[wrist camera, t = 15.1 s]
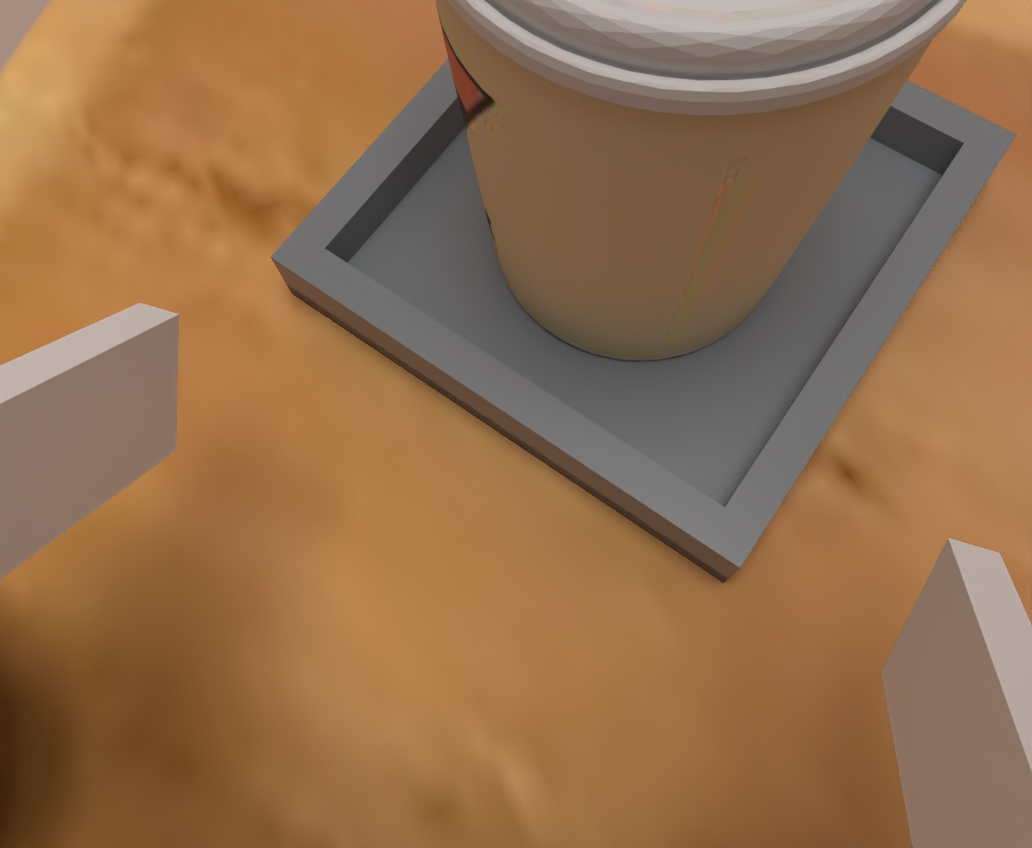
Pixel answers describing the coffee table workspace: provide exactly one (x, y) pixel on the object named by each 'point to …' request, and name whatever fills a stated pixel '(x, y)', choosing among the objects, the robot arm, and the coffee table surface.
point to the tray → (651, 383)
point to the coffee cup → (667, 148)
